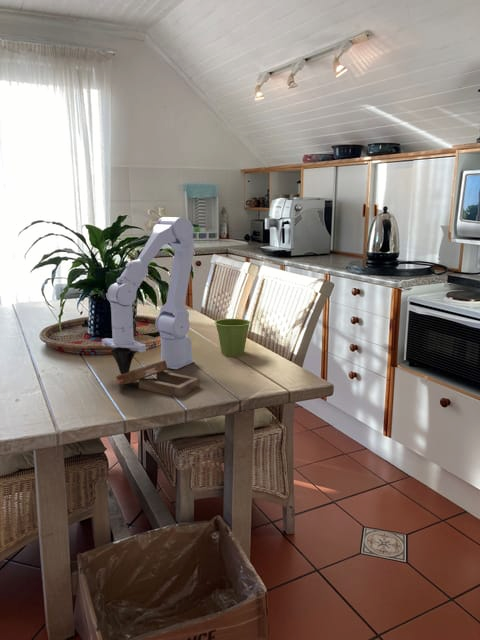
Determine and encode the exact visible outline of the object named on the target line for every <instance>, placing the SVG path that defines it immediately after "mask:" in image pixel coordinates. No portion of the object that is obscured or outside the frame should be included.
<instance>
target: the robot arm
mask: <svg viewBox="0 0 480 640" xmlns="http://www.w3.org/2000/svg"><path fill="white" fill-rule="evenodd" d="M194 230H195V226H194V225H193V224H192V222H191V221H190V219H188V218H187V217H184V216H180V217H174V216H171V217H170V216H162V217H160V218H159V219H158V220H157V223H156V224H155V225H154V226H153V228H152V233H151V235H150V236H149V238H148V240H147V241H146V243H145V245H144V247H143V249H142V250H141V251H140V254H139V255H138V257H137V258H136V259H134V260H133V259H132V260H130V261H129V262H126V263H125V269H123V271H122V273H121V275H120V276H119V277H117V278H116V280H115V281H116V282H114V283H112V284H110V285H109V287H108V289H107V292H106V293H105V296H106V297H105V298H106V299H107V301H109V304H110V313H111V331H112V332H111V333H112V334H111V335H112V336H111V337H112V338H109V337H108V338H107V337H105V338H101V346H102V347H111V348H114V349H112V350H111V351H110V354H111V356H113V358H114V360H115V362H116V364H117V367H118V370H119V373H120V375H121V374H124V373H127V372H130V370H131V369H130V368H131V364H132V361H133V359H134V356H135V354H136V352H138V353H140V354H142V353H144V352H147V347H146V344H145V343H141V342H139V341H137V340H135V339H134V338H135V337H134V318H133V313H134V312H133V303H134V302H135V301H136V299H137V291H138V288H140V286H141V284H142V283H143V281H144V280H145V278H146V277H147V275H148V273H149V267H148V266H149V265H150V264H151V262H152V261H153V260H154V258H155V257H156V256H157V255H158V253H159V252H160V250H161V249H162V248H163V247H164V246H165V245H168V244H170V246H171V247H172V248H173V251H174V255H173V262H172V268H171V273H170V279H169V284H168V290H167V296H166V302H165V303H164V304H163V305H162V306H161V307H160V308H159V309H160V310H159V313H158V314H157V315H158V316H157V317H156V319H155V323H154V324H155V327H156V328H155V329H156V330H157V331H158V332H159V336H160V353H161V354H160V360H161V361H165V360H166V365H167V369H171V370H178V369H180V368H183V367H185V366H187V365H190V364H192V363H195V360H193V359H192V358H193V357H192V356H193V355H192V350H193V349H192V340H191V337H190V336H189V335H188V332H189V331H190V327H191V326H190V325H191V324H190V319H189V318H190V312H189V311H188V310H187V308H186V306H185V304H186V299H187V293H188V287H189V284H190V283H189V281H190V276H191V271H192V266H193V265H192V264H193V258H194V253H195V242H194V232H195V231H194ZM161 361H160V362H161Z"/></svg>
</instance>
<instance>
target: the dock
mask: <svg viewBox="0 0 480 640" xmlns="http://www.w3.org/2000/svg"><path fill="white" fill-rule="evenodd" d="M200 381H201V379H200V378H198V377H195V376H190V375H184V374H179V373H173V372H168V371H162V372H160V373H157V374H156V380H155V379H154V380H153V379H148V378H143V379H140V380H138V389H140V390H144V391H149V392H154V393H157V394H162V395H167V396H171V397H177V398H182V397H183V396H185V395H187V394H189V393H192V392H193V391H194V390H198V389H199V388H201V383H200Z"/></svg>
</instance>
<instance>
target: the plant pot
mask: <svg viewBox="0 0 480 640" xmlns="http://www.w3.org/2000/svg"><path fill="white" fill-rule="evenodd" d="M213 323H214V324H215V326H216V330H217V334H218V341H219V348H220V352H221V355H223V356H225V357H240V356H243V355H244V354H245V349H246V343H247V337H248V331H249V328H250V325H251V323H252V321H250V320H248V319H242V318H221V319H217V320H215V321H214V322H213Z"/></svg>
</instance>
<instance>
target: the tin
mask: <svg viewBox="0 0 480 640" xmlns="http://www.w3.org/2000/svg"><path fill="white" fill-rule="evenodd" d="M166 370H168V368H167V365H166V360H165V361H159V362H155V363H151V364H148V365H145V366H142V367H139V368H136V369H133V370H129V372H127V373H124V374H121V373H120V374H119V375H116V376H115V378H116V381H117V383H118V386H121V385H123V384H124V385H126V384H130V383H133V382H137V381H139V380H140V379H143V378H145V379H147V378H149V377H151V376H155V375H157V373H160V372H162V371H164V372H166Z"/></svg>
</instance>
